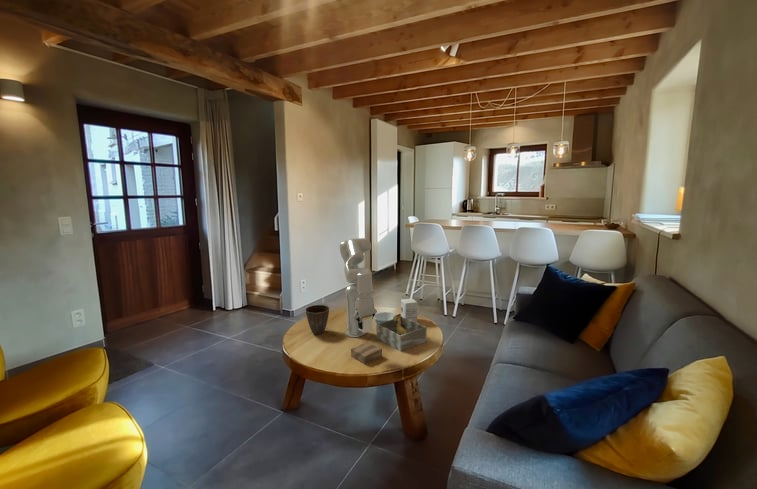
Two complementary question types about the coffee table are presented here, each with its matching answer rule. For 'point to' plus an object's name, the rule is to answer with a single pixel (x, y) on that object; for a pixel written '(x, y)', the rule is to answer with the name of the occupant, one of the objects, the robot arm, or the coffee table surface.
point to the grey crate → (401, 342)
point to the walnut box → (366, 353)
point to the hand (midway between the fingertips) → (365, 327)
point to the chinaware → (383, 317)
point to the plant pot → (317, 318)
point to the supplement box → (409, 309)
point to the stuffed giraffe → (399, 325)
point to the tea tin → (367, 323)
